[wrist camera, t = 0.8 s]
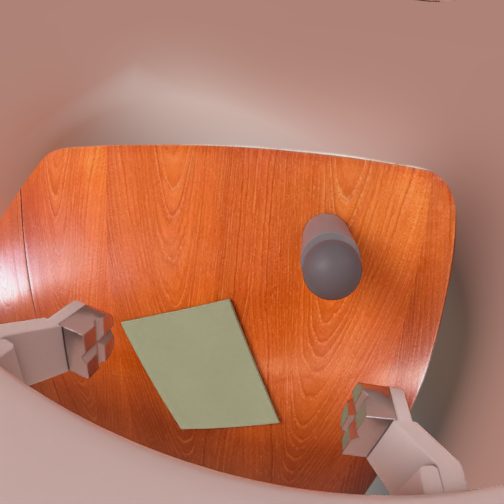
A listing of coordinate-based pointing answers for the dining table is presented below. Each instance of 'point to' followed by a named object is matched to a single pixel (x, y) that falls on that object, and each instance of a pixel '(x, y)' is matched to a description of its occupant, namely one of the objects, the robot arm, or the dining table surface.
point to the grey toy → (330, 257)
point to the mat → (202, 367)
